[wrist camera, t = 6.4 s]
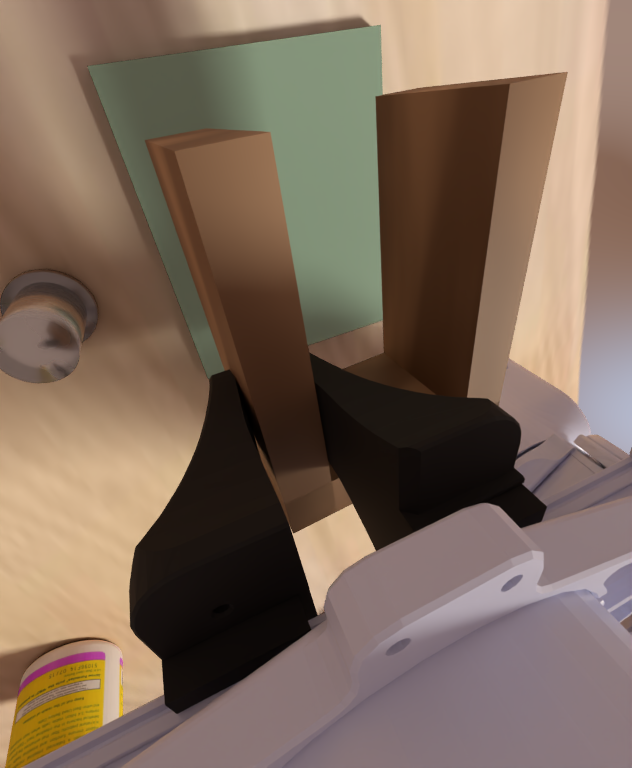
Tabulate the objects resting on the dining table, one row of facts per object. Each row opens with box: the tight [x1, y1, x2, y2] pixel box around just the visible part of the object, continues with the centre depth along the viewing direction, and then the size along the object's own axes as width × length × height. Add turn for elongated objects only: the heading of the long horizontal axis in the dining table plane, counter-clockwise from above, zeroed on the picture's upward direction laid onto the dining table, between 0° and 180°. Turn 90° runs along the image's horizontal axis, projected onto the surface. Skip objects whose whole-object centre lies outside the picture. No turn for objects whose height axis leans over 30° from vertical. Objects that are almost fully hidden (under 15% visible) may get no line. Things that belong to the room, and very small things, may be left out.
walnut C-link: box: [145, 72, 567, 533], centre depth 12 cm, size 8×11×5 cm
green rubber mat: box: [87, 25, 383, 379], centre depth 18 cm, size 11×13×1 cm
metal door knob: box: [0, 269, 98, 383], centre depth 15 cm, size 3×3×4 cm
